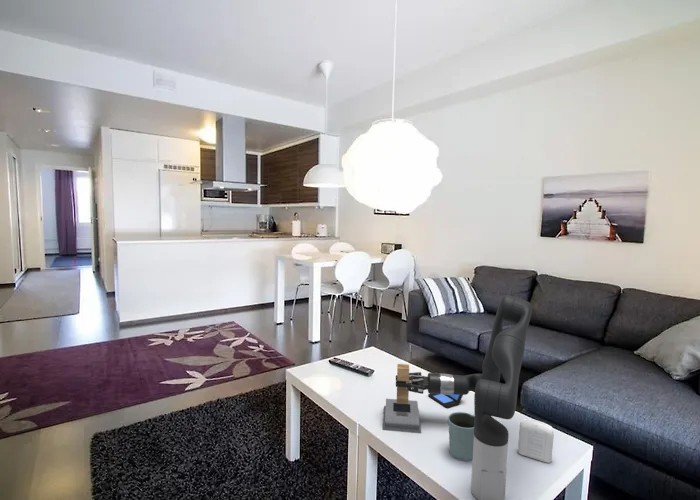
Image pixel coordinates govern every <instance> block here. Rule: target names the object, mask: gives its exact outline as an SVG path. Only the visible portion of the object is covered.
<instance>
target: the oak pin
mask: <svg viewBox="0 0 700 500" xmlns="http://www.w3.org/2000/svg"><path fill="white" fill-rule="evenodd" d="M396 369H397V373H396V374H397V381H409V373H410V364H406V363H405V364H403V363H397V368H396ZM409 393H410V391H408V389H406V387H396V399H397V403H398V404H408V400H409V395H410V394H409Z"/></svg>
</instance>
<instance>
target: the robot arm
mask: <svg viewBox="0 0 700 500" xmlns="http://www.w3.org/2000/svg"><path fill="white" fill-rule="evenodd" d="M532 313H533V306H532V303H530V302H529V301H528V300H525V299H522V298H519V297H516V296H513V295H510V294H505V295H503V296H502V298H501V300H500V301H499V304H498V307H497V310H496V314H495V317H494V321H493V325H492V331H491V334H490V340H489V343H488V347H487V350H486V352H485V356H484V359H483V362H482V365H481V366H482V367H481V368H482V373H472V374H466V375H459V374H449V373H439V372H438V373H435V372H428V374H427V376H425V375H422V372H421V371H419V372H418V371H417V372H409V381H397V375H395V387H396V388H397V387H406V389H408V391H409V392H412V393H417V394H424V391H425V390H426V391H427V392H428V393H427V394H445V395H449V394H455V395H463V396H465V395H468V394H469V393H470V392H473V391H474V398H473V399H474V400H473V401H474V402H473V403H474V404H473V405H474V410H473V411H474V414H473V415H474V439H473V457H472V460H471V461H472V462H471V478H470V479H471V481H470V491H471V492H470V493H471V494H472V495H473V497H474V498H475V499H476V500H505V499H506V481H507V464H508V450H509V437H510V436H509V435H510V434H509V430H508V428H507V427H506V426H505V425H504V424H503V423H501V422H500V421H498V420H496V419H495V418H498V419H503V420H511V419H513V417H514V415H515V413H516V408H517V402H518V390H519V381H520V379H519V378H520V373H521V369H522V364H523V358H524V356H525V355H524V354H525V347H526V338H527V332H528V328H529V325H530V321H531V317H532ZM504 321H507V322H508V323H509V322H510V323H512V324H514V325H512V326H511V327H508V328H506V329H504V330H503V325H504ZM501 376H502V377H503V380H504V382H505V383H503V382H501V381H500V380H501Z"/></svg>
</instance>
